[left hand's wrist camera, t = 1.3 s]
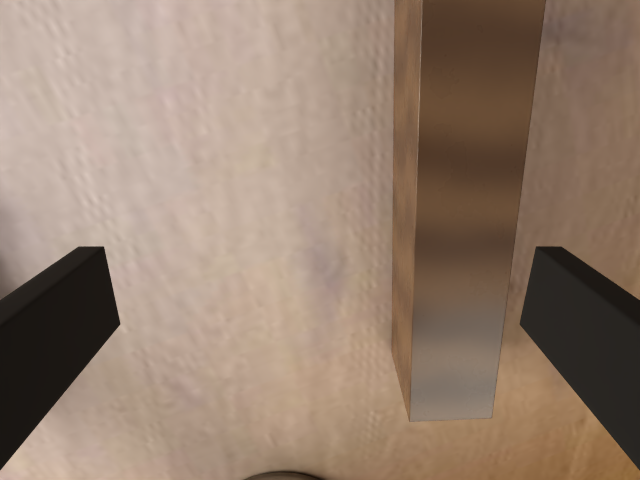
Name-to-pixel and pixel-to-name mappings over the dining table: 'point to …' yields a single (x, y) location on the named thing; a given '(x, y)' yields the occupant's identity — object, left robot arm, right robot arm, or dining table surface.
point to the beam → (457, 193)
